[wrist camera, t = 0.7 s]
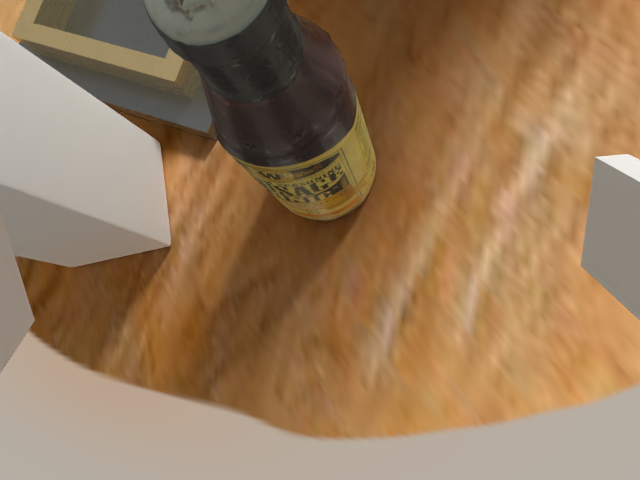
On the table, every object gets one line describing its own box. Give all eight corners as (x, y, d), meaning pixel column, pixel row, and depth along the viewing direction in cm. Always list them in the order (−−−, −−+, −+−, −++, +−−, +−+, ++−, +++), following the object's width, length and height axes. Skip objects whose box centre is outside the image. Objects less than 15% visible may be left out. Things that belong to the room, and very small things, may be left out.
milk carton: (161, 142, 39) (-100, -41, 21) (173, 246, 37) (-98, 149, 19) (66, 166, 40) (-259, 14, 22) (73, 268, 39) (-269, 196, 20)
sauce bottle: (269, 217, 36) (60, 70, 17) (291, 121, 37) (115, -122, 18) (374, 235, 35) (271, 95, 16) (394, 134, 35) (321, -117, 16)
